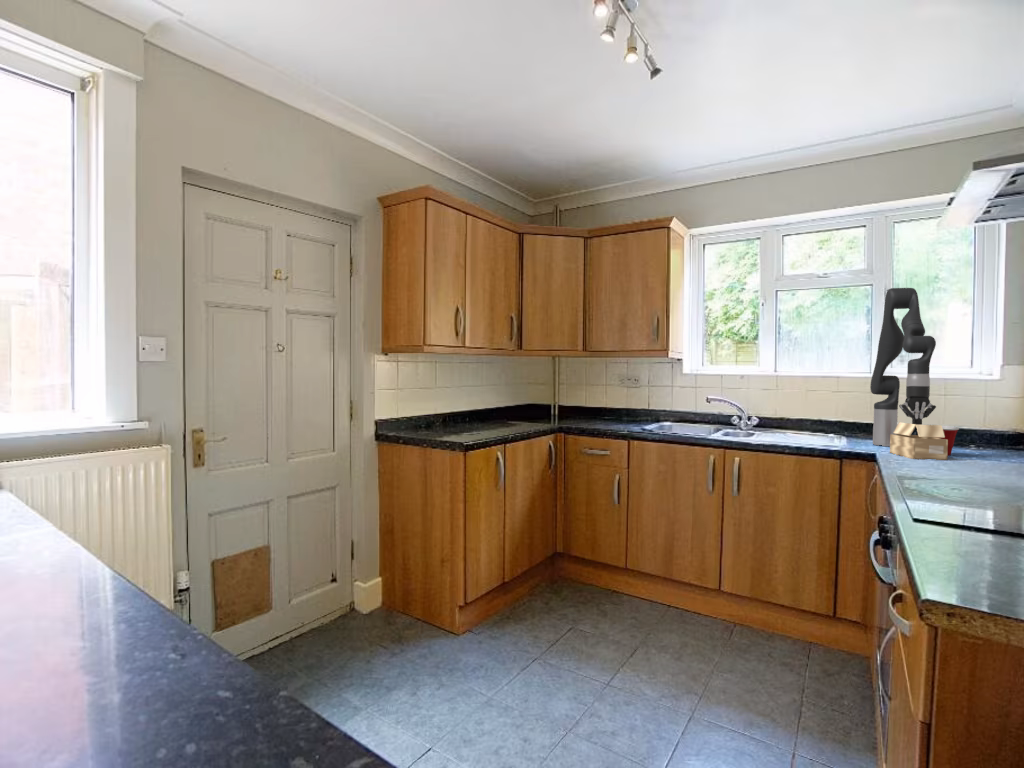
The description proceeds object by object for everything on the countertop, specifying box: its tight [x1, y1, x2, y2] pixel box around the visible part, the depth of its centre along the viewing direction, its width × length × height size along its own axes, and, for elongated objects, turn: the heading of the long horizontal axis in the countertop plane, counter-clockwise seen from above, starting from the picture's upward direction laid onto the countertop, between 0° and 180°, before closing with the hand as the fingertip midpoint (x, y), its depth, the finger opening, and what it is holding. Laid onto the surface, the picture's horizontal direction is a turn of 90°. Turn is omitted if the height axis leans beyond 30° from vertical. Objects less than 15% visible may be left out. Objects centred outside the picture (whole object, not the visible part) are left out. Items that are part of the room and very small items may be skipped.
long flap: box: [893, 421, 916, 436], centre depth 214 cm, size 11×5×1 cm
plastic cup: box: [935, 424, 960, 457], centre depth 221 cm, size 11×11×12 cm
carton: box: [889, 434, 948, 461], centre depth 213 cm, size 16×12×8 cm
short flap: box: [915, 424, 945, 438], centre depth 206 cm, size 9×5×1 cm
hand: (916, 428), depth 213 cm, fingers closed
